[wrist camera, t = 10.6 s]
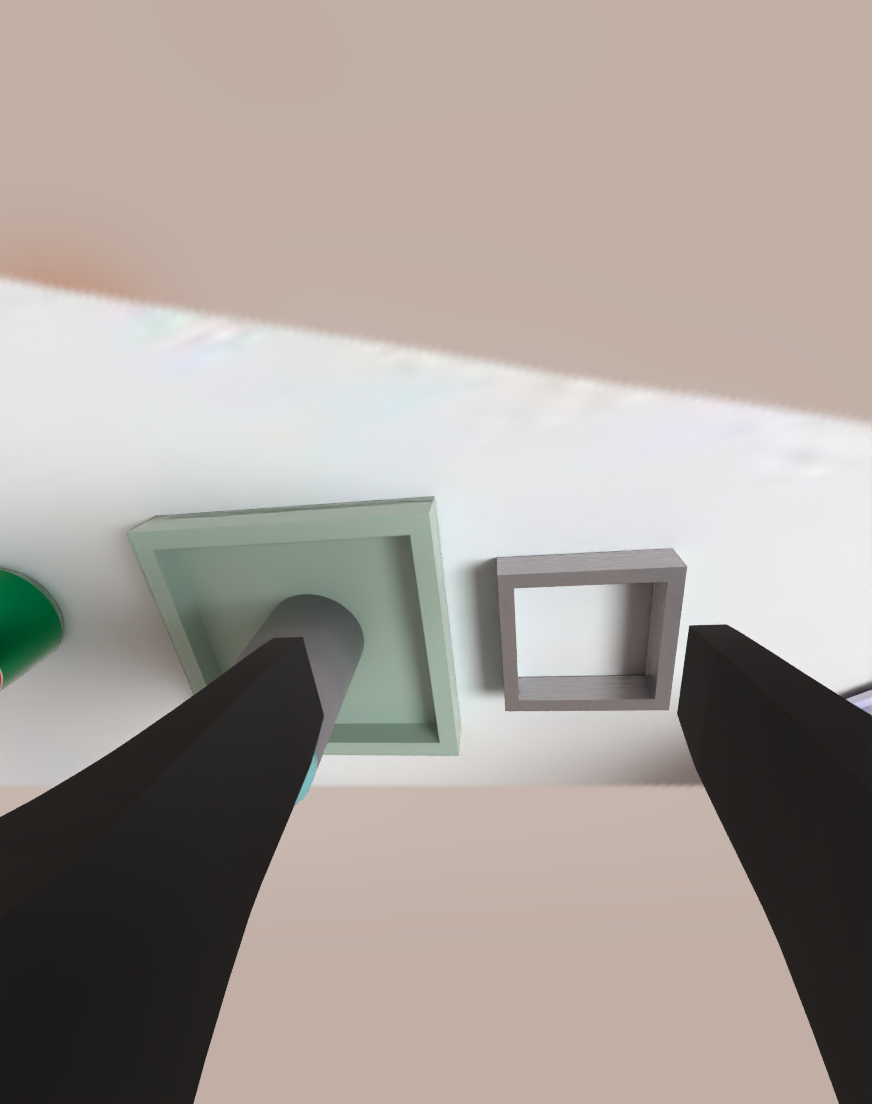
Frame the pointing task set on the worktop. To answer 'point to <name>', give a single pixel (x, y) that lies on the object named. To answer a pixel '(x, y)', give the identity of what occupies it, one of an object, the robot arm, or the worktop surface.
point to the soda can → (25, 625)
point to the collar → (595, 570)
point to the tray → (327, 570)
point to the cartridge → (318, 654)
